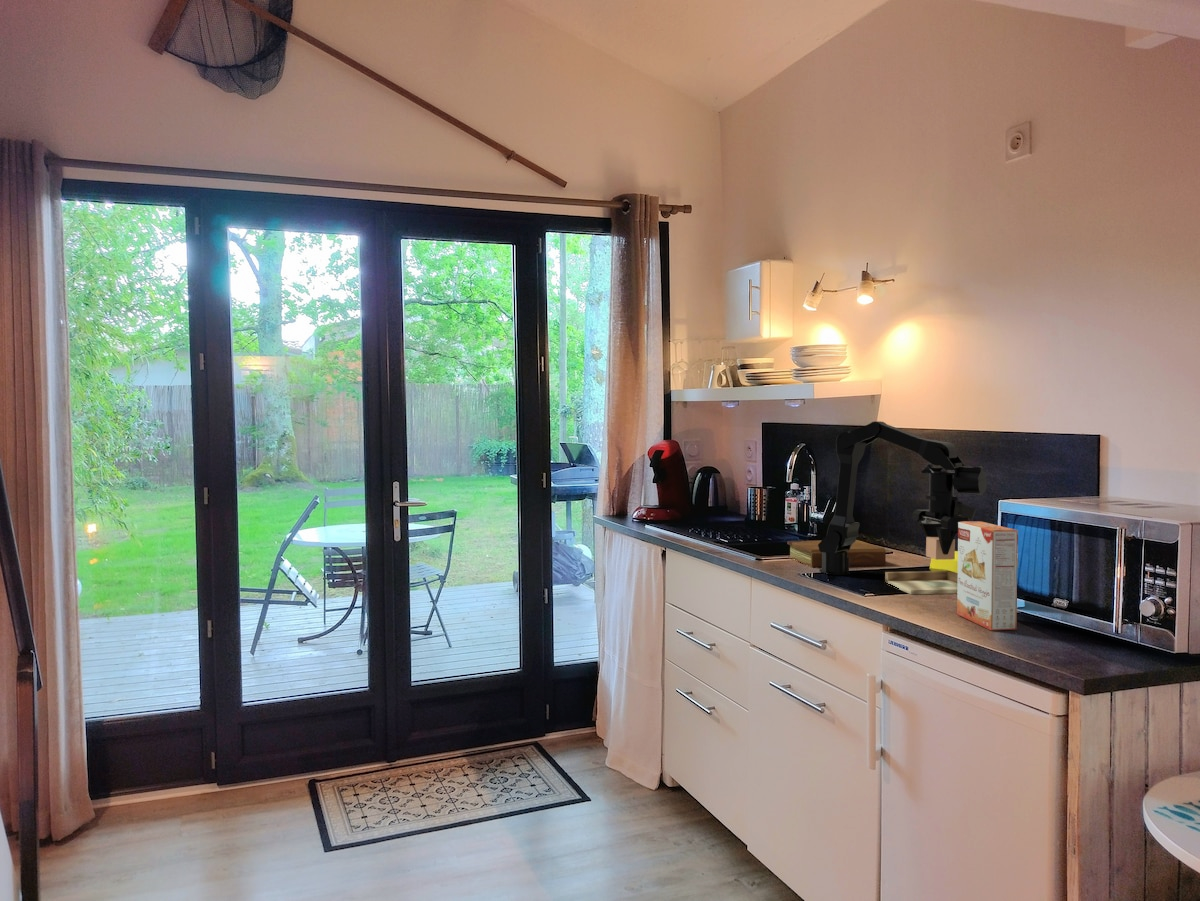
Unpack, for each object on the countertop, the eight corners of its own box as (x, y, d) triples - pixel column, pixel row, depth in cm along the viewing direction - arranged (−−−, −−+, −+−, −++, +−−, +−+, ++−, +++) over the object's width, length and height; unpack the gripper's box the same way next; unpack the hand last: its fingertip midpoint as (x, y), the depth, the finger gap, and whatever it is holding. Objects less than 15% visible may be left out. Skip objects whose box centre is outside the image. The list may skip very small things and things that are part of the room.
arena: (910, 594, 209) (911, 582, 209) (885, 583, 223) (885, 572, 223) (979, 592, 211) (979, 580, 211) (949, 582, 225) (949, 570, 225)
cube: (954, 559, 214) (955, 539, 214) (935, 559, 214) (936, 539, 213) (944, 556, 219) (944, 536, 219) (925, 556, 219) (926, 536, 218)
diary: (811, 570, 246) (812, 550, 246) (787, 559, 264) (787, 541, 264) (885, 567, 250) (885, 547, 250) (856, 557, 268) (856, 539, 268)
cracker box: (954, 615, 187) (956, 520, 186) (981, 615, 187) (983, 520, 186) (989, 631, 173) (991, 529, 172) (1017, 630, 173) (1019, 528, 172)
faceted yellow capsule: (941, 569, 245) (921, 571, 242) (942, 546, 245) (922, 548, 241) (994, 580, 228) (973, 582, 225) (994, 555, 228) (973, 557, 225)
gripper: (992, 495, 207) (990, 558, 208) (951, 488, 226) (950, 546, 227) (949, 495, 206) (947, 559, 207) (912, 488, 225) (910, 547, 225)
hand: (940, 552), depth 216 cm, fingers closed on cube, 5 cm apart
